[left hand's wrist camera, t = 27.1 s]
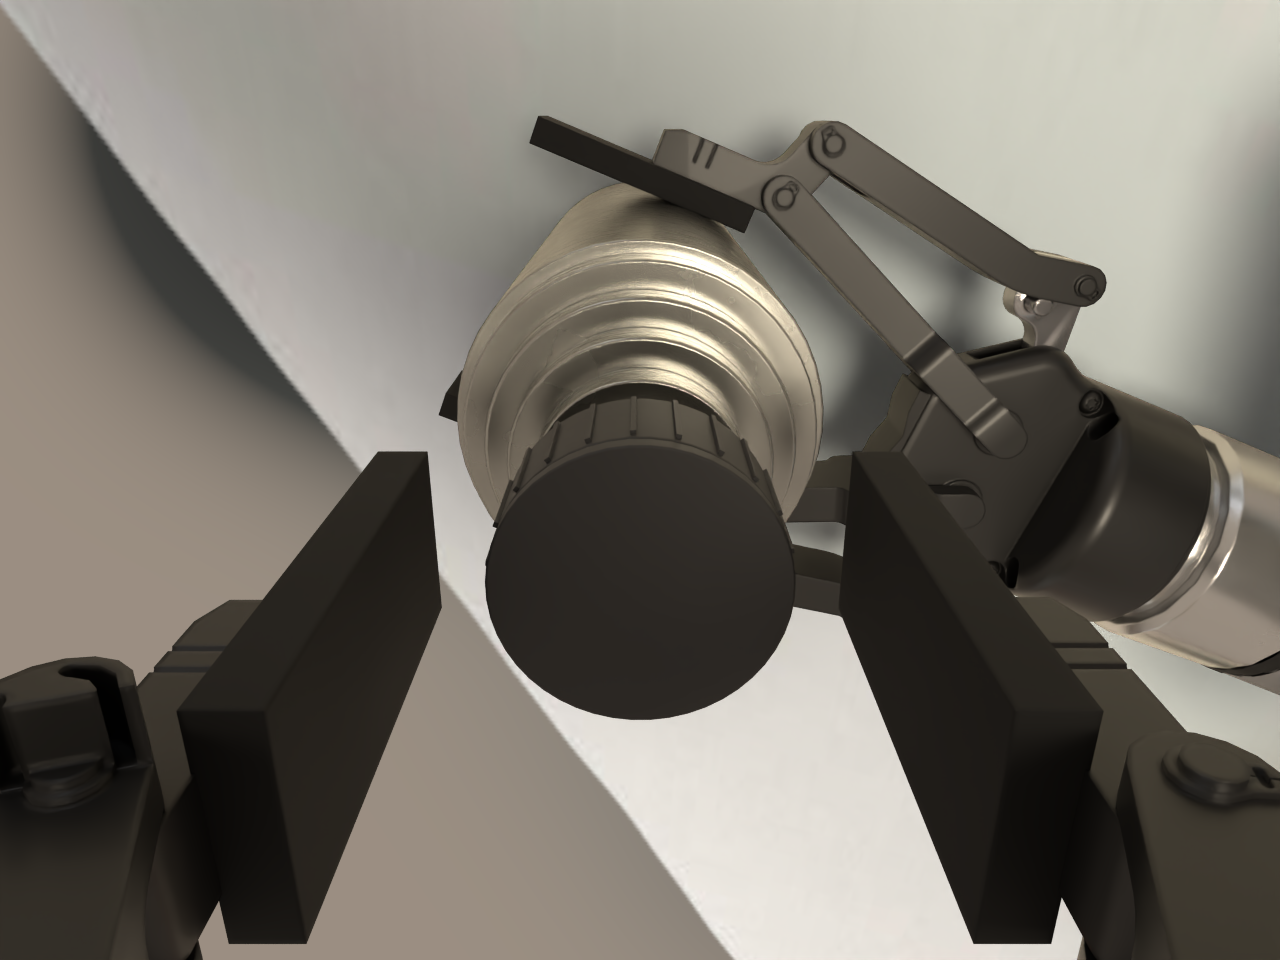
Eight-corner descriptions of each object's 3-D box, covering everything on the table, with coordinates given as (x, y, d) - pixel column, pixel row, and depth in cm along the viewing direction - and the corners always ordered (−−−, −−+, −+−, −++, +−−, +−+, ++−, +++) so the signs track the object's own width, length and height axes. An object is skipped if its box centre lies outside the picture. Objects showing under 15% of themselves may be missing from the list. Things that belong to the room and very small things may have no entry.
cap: (561, 674, 16) (550, 756, 14) (459, 445, 14) (429, 500, 12) (808, 601, 15) (834, 676, 13) (730, 354, 14) (746, 396, 12)
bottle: (498, 301, 35) (275, 595, 14) (624, 134, 33) (597, 173, 11) (653, 423, 37) (672, 850, 15) (783, 273, 35) (1016, 529, 13)
